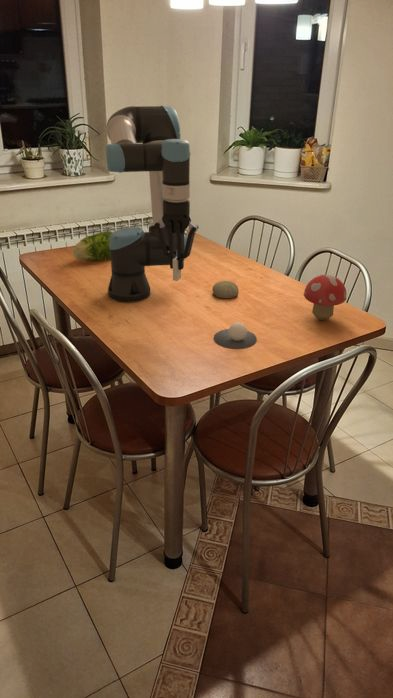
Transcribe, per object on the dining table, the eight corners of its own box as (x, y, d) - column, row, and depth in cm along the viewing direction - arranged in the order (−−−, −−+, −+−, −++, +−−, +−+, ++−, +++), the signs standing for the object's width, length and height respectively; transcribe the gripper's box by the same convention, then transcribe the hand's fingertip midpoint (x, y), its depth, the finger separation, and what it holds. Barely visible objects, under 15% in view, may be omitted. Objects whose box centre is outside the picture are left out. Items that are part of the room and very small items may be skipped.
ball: (228, 324, 155) (245, 331, 154) (235, 316, 159) (251, 324, 158) (223, 339, 158) (240, 346, 157) (230, 331, 162) (246, 338, 161)
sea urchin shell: (239, 296, 185) (223, 279, 183) (223, 309, 189) (207, 293, 187) (242, 286, 193) (227, 270, 191) (226, 299, 196) (212, 284, 195)
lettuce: (68, 262, 221) (65, 235, 216) (111, 252, 232) (109, 227, 227) (82, 269, 213) (79, 242, 208) (125, 259, 225) (124, 233, 219)
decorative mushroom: (350, 326, 168) (357, 282, 161) (310, 329, 166) (315, 285, 158) (332, 309, 180) (338, 267, 172) (295, 312, 177) (299, 270, 170)
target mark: (207, 344, 157) (207, 343, 157) (221, 326, 167) (221, 325, 167) (249, 352, 152) (249, 351, 152) (261, 333, 163) (261, 332, 163)
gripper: (149, 199, 146) (151, 280, 157) (192, 204, 142) (192, 286, 153) (160, 194, 152) (162, 272, 163) (202, 198, 148) (201, 278, 159)
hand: (177, 279), depth 158 cm, fingers closed
